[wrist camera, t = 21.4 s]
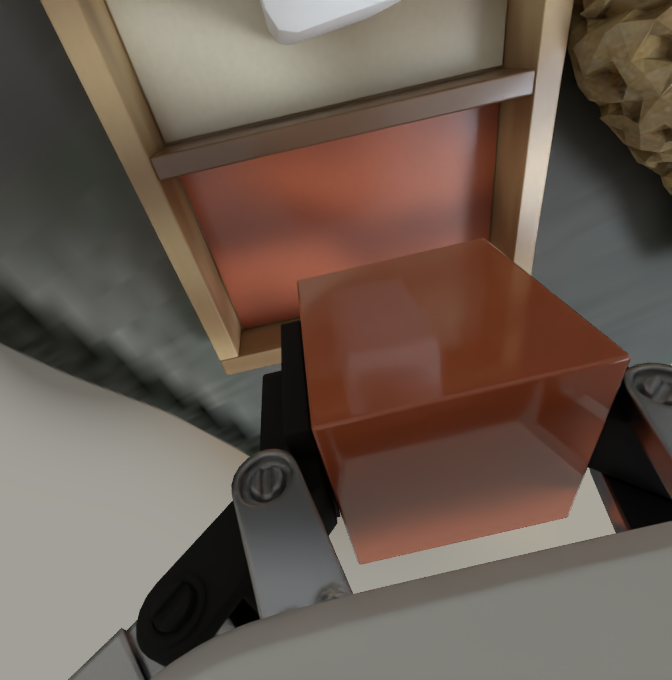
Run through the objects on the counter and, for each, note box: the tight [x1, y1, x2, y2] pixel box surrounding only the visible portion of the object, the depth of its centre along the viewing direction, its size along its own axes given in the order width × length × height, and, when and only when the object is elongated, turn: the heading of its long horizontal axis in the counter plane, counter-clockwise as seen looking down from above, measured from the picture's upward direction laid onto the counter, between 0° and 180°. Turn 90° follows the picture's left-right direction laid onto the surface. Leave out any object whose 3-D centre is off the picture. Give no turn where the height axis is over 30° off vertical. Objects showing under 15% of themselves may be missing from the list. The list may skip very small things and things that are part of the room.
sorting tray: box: [40, 0, 574, 375], centre depth 14 cm, size 20×16×3 cm
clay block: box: [297, 238, 631, 564], centre depth 9 cm, size 5×5×5 cm
